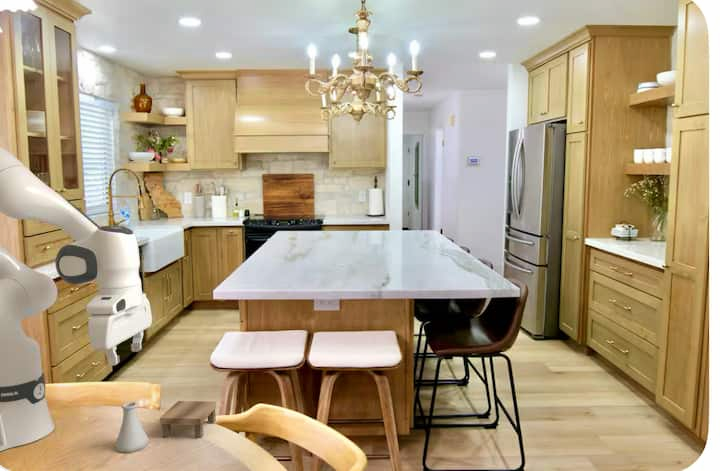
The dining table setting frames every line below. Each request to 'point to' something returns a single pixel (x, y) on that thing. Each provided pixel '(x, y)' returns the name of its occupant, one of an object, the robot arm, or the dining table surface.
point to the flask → (131, 431)
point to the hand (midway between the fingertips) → (125, 357)
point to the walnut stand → (188, 416)
